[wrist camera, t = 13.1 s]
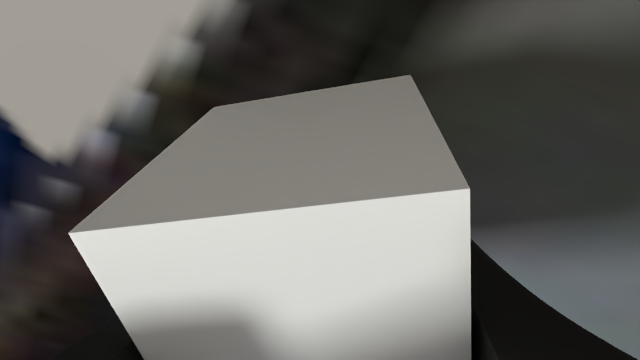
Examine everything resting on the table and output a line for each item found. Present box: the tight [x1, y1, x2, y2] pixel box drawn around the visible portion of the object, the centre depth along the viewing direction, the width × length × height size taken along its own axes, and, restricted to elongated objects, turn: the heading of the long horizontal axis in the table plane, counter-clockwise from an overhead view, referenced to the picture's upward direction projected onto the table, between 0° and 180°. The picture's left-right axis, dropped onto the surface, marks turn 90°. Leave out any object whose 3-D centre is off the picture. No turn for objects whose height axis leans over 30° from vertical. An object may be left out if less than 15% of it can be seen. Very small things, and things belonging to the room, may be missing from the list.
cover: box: [68, 75, 471, 360], centre depth 10 cm, size 6×9×7 cm, turn 11°
